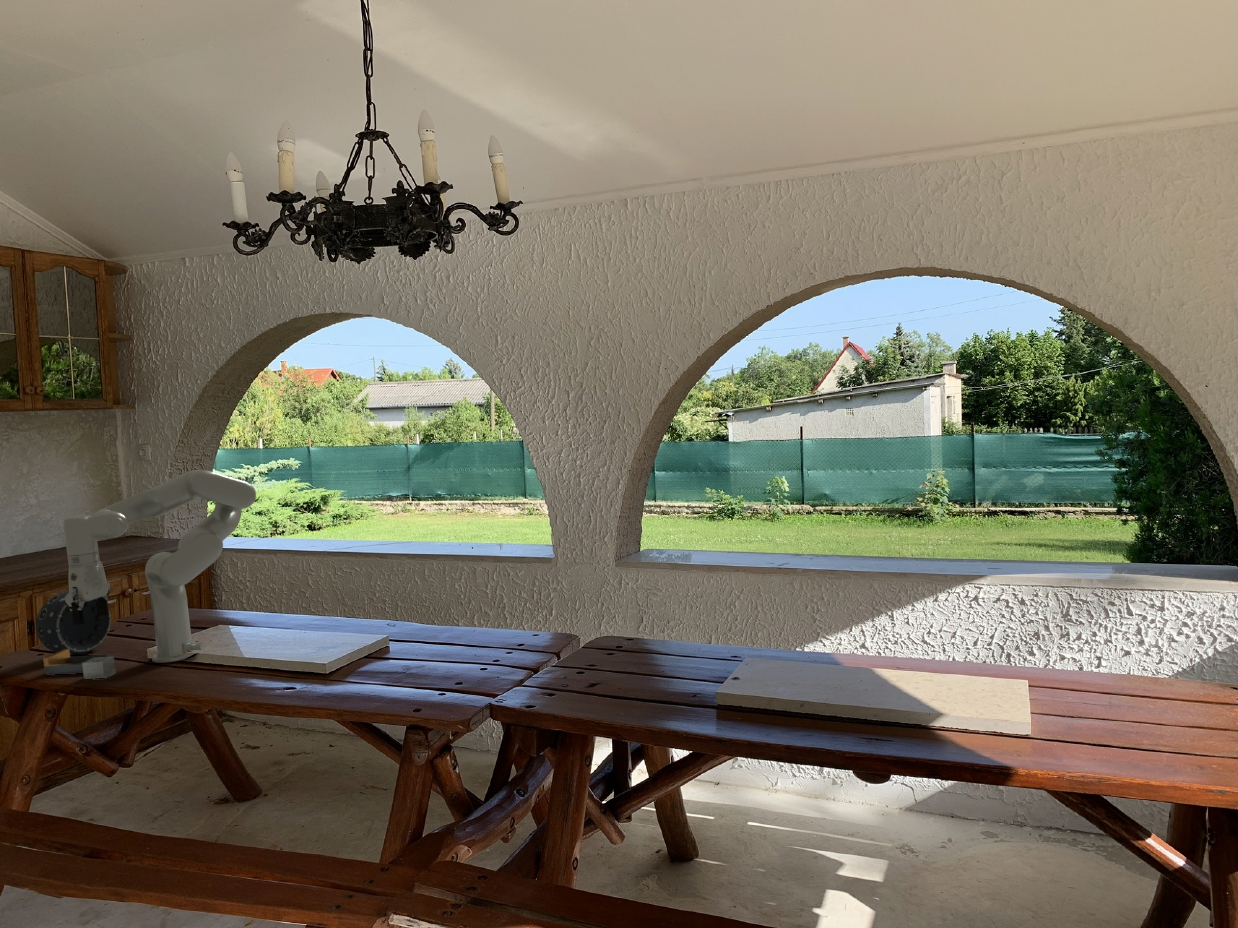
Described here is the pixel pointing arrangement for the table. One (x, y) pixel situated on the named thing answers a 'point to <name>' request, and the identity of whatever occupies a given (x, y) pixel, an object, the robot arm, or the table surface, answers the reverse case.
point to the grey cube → (99, 667)
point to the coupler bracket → (66, 662)
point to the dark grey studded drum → (70, 626)
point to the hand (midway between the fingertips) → (91, 619)
